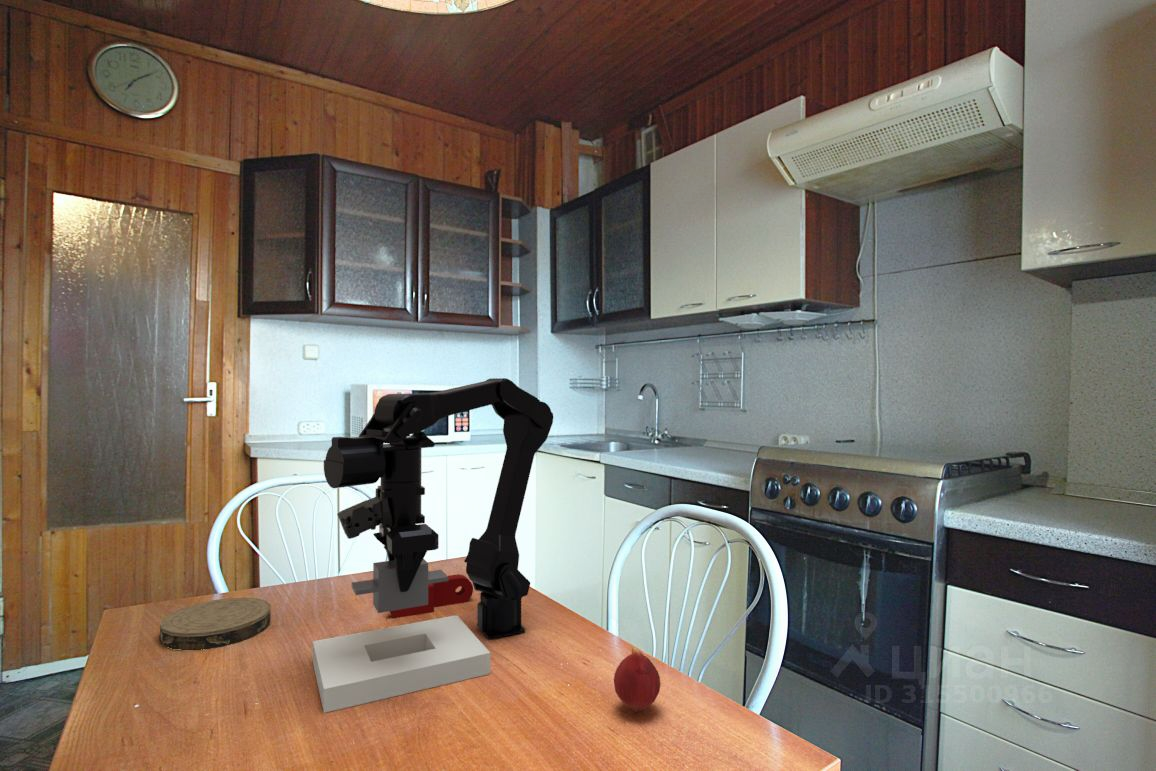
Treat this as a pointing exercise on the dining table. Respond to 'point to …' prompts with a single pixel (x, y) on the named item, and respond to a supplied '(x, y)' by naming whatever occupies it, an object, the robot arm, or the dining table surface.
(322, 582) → the dining table surface
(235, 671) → the dining table surface
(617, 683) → the onion
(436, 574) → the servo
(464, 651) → the frame
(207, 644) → the wood slice
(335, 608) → the dining table surface
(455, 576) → the mechanical linkage
